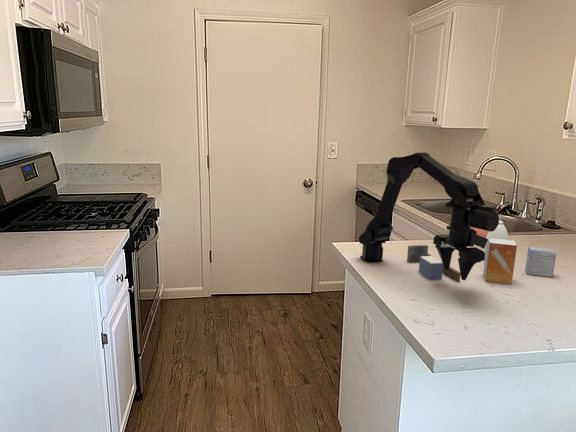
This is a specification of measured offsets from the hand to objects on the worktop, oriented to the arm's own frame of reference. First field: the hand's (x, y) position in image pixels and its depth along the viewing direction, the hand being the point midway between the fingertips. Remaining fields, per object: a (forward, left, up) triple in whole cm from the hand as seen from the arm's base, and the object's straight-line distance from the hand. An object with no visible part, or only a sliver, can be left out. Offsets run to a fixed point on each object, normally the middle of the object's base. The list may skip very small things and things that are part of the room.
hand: (454, 274), depth 139 cm
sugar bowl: (+44, +53, -6) cm, 69 cm away
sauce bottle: (+31, +24, -6) cm, 40 cm away
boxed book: (0, +14, -5) cm, 15 cm away
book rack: (+3, +18, -5) cm, 19 cm away
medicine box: (+38, +10, -6) cm, 40 cm away
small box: (+20, +7, -6) cm, 22 cm away
